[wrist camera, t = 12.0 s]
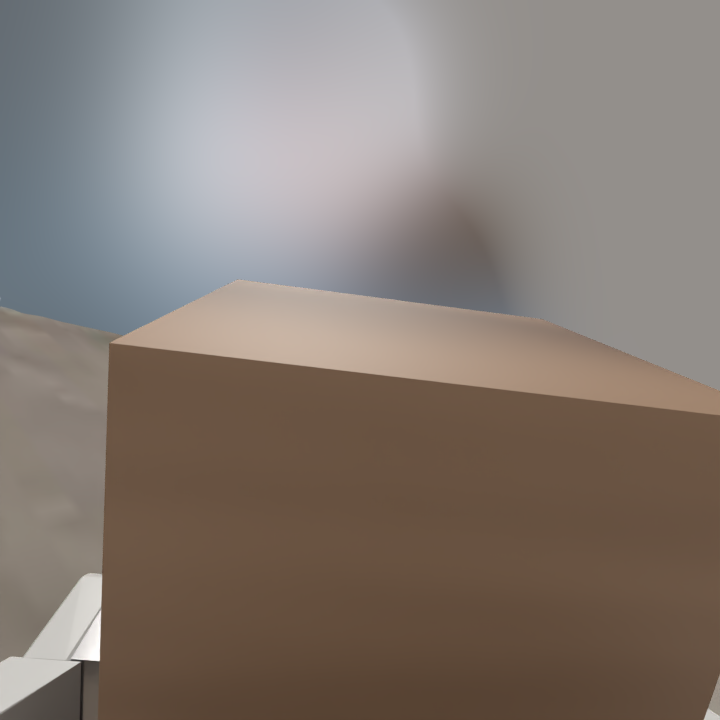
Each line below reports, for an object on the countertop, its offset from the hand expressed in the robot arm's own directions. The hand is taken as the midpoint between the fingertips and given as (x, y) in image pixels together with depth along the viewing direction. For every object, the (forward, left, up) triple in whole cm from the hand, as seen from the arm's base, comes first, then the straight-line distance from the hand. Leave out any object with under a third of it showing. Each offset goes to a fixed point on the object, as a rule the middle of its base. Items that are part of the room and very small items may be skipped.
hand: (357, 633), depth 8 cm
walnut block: (-1, 0, -7) cm, 7 cm away
